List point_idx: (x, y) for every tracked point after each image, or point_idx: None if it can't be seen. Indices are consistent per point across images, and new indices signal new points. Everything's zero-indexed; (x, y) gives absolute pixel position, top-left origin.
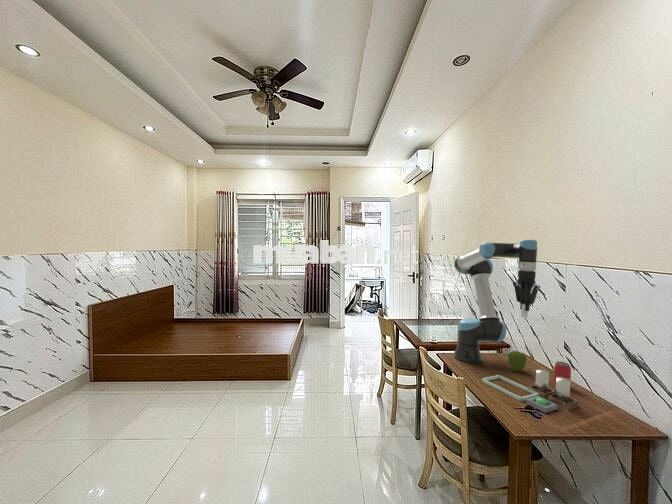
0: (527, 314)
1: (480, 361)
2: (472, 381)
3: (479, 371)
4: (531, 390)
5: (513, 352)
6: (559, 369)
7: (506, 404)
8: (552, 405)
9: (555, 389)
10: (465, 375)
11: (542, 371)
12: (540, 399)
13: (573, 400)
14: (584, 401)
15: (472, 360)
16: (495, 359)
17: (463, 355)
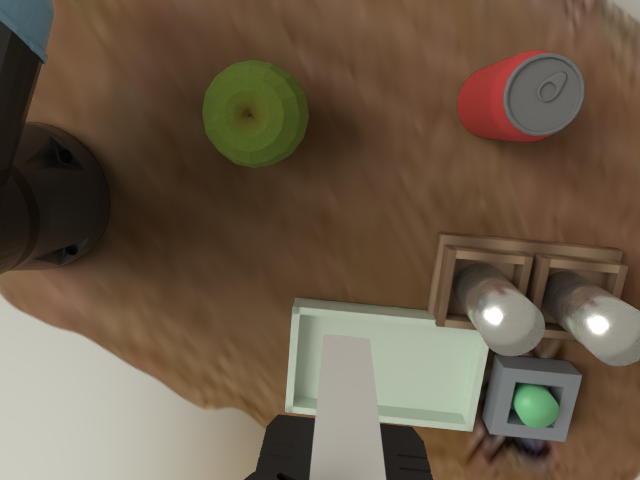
0: (371, 362)
1: (103, 178)
2: (258, 410)
3: (194, 293)
4: (457, 328)
5: (237, 143)
6: (528, 141)
7: (438, 461)
8: (572, 398)
9: (563, 326)
10: (204, 387)
11: (513, 328)
12: (536, 416)
13: (606, 271)
14: (606, 159)
15: (95, 236)
16: (99, 46)
17: (49, 266)
